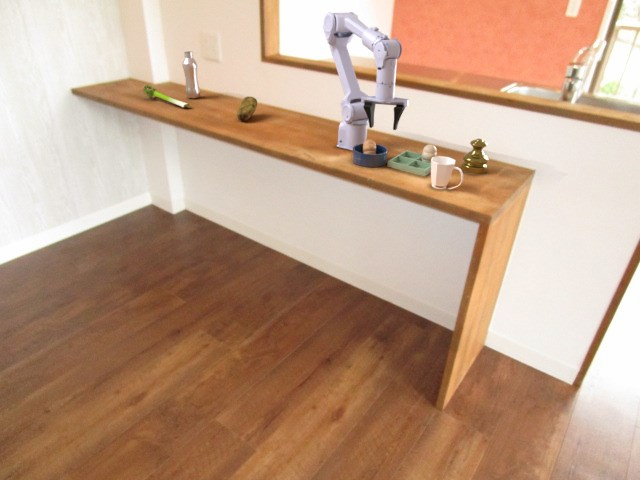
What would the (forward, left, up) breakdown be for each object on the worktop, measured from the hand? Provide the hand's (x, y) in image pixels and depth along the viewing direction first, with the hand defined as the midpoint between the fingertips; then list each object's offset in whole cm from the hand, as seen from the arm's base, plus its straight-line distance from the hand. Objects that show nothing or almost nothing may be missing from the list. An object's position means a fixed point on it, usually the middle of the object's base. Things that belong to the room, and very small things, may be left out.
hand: (383, 128), depth 144 cm
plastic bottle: (-108, +16, -11) cm, 109 cm away
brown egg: (-1, -4, -9) cm, 10 cm away
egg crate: (+11, +2, -10) cm, 16 cm away
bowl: (-2, -4, -10) cm, 11 cm away
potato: (-66, +7, -11) cm, 67 cm away
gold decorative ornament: (+27, +10, -11) cm, 31 cm away
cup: (+25, -9, -11) cm, 29 cm away
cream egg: (+15, +5, -10) cm, 18 cm away
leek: (-110, +2, -11) cm, 110 cm away
